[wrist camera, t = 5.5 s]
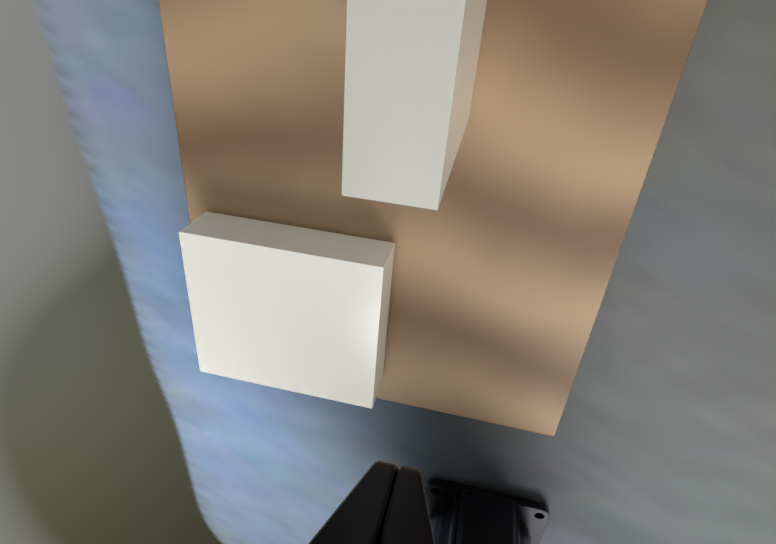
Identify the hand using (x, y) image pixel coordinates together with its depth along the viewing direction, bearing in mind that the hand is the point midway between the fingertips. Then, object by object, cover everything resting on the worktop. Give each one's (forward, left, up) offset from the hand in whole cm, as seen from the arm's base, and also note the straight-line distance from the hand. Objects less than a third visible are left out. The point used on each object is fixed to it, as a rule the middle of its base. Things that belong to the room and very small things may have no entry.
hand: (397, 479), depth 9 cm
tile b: (+7, +1, -11) cm, 14 cm away
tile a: (-5, +2, -10) cm, 12 cm away
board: (+1, +3, -12) cm, 13 cm away
